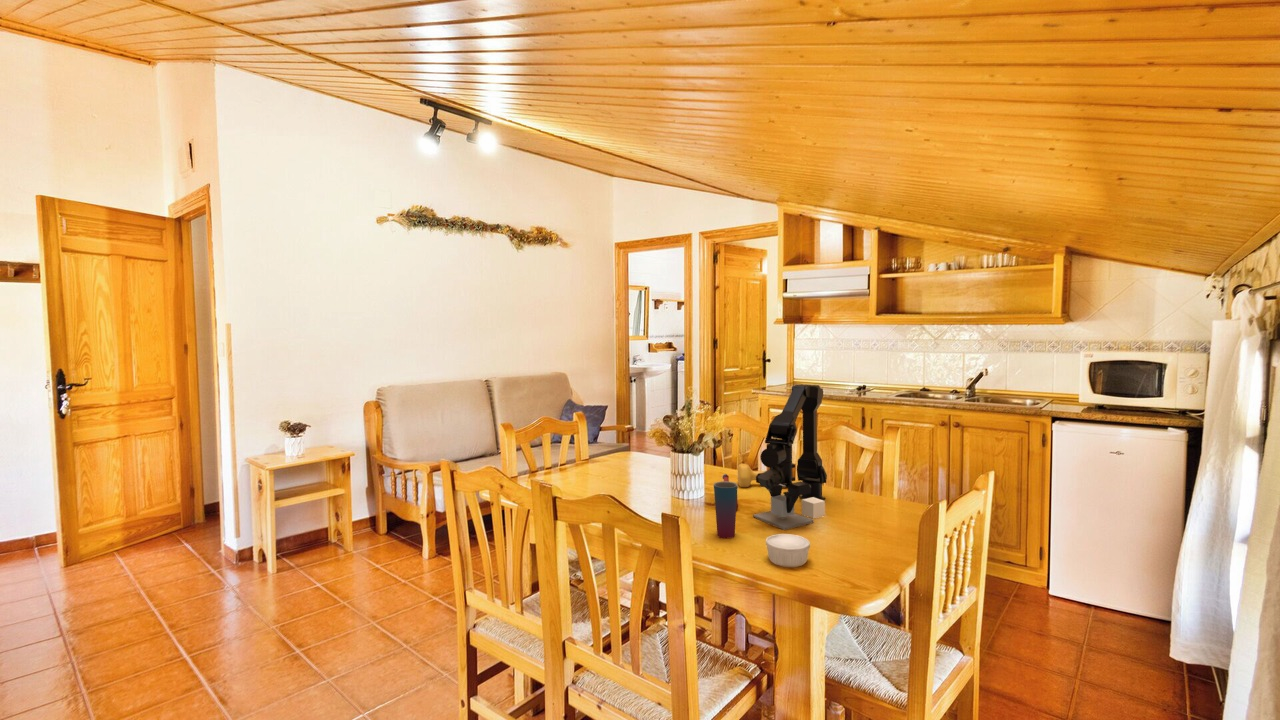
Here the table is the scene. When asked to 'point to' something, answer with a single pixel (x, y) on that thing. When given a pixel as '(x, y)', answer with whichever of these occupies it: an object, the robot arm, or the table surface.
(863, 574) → the table surface
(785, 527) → the baseplate
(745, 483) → the dumbbell
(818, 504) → the cream block
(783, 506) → the slate block
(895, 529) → the table surface
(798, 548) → the ramekin
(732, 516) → the cup
